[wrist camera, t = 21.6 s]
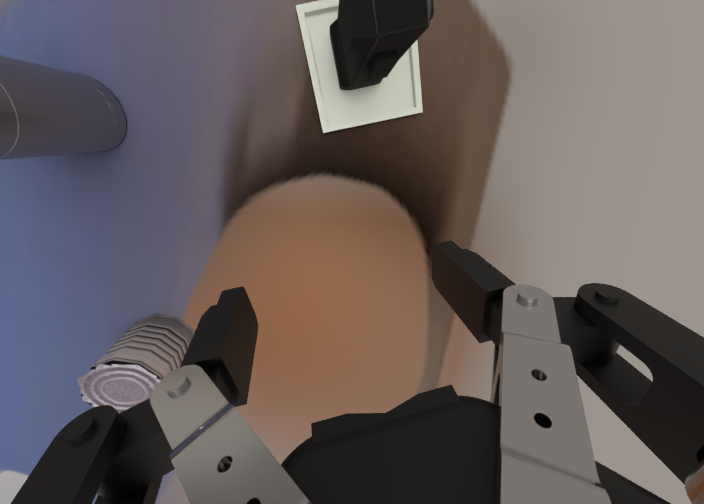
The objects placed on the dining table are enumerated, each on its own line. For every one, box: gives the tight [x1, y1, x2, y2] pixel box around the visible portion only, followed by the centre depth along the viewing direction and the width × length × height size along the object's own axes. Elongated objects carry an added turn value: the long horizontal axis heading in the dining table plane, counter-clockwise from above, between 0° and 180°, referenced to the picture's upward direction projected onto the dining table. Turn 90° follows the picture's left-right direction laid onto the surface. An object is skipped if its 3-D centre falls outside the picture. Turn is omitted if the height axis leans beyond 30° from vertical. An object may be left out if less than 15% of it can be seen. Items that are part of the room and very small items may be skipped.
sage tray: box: [296, 0, 423, 133], centre depth 36 cm, size 14×14×2 cm
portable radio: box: [330, 0, 434, 90], centre depth 25 cm, size 8×6×25 cm
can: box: [77, 314, 194, 413], centre depth 46 cm, size 11×11×12 cm
